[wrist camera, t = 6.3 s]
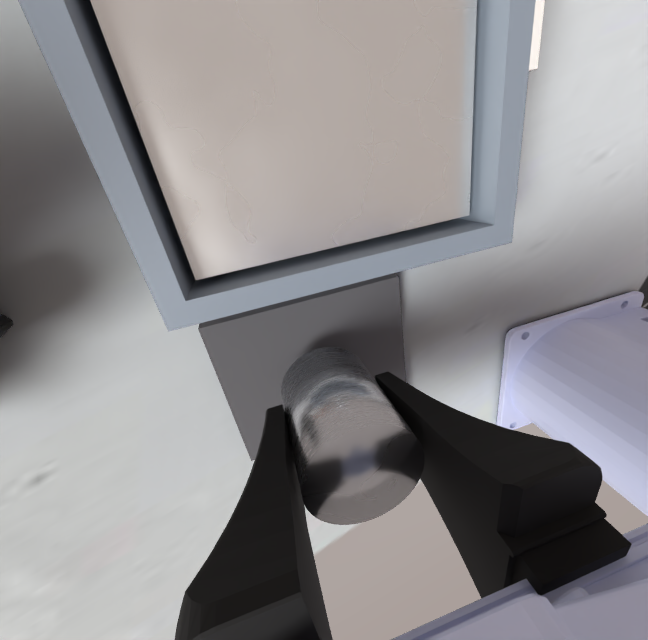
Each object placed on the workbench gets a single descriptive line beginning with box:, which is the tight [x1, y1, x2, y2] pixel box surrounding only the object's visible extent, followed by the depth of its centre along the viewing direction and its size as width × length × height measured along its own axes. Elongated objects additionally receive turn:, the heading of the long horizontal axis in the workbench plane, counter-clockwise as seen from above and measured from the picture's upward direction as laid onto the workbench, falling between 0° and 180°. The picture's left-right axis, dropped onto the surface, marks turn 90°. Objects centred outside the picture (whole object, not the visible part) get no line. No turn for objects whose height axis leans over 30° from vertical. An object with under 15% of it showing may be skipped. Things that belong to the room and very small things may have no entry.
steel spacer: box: [281, 347, 425, 525], centre depth 12 cm, size 4×4×5 cm
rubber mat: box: [198, 273, 406, 461], centre depth 16 cm, size 9×8×1 cm
